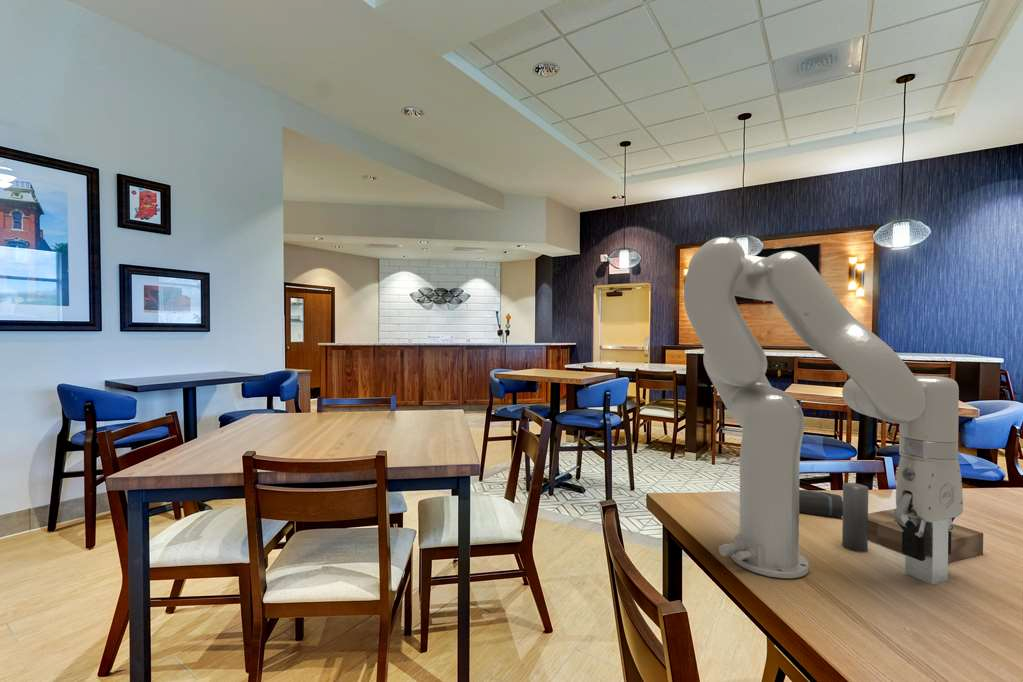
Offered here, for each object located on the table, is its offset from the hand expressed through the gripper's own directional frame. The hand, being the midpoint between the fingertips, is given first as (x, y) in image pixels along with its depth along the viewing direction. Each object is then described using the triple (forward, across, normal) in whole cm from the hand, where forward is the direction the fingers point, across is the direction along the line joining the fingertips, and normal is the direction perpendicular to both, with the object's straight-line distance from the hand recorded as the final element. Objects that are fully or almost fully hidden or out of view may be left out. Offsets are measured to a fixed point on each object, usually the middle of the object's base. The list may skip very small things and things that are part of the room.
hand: (926, 553), depth 81 cm
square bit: (+4, 0, 0) cm, 4 cm away
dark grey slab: (+5, +4, +29) cm, 30 cm away
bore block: (+4, +13, +9) cm, 16 cm away
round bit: (+4, 0, +12) cm, 13 cm away
